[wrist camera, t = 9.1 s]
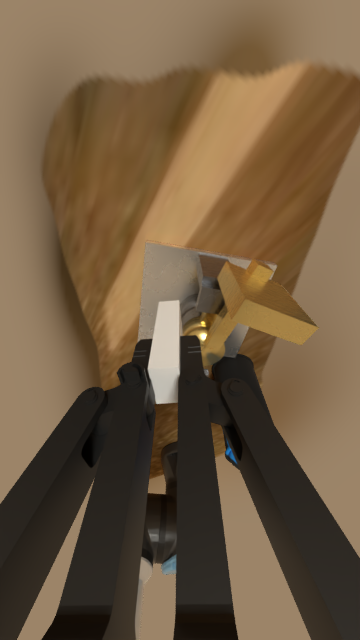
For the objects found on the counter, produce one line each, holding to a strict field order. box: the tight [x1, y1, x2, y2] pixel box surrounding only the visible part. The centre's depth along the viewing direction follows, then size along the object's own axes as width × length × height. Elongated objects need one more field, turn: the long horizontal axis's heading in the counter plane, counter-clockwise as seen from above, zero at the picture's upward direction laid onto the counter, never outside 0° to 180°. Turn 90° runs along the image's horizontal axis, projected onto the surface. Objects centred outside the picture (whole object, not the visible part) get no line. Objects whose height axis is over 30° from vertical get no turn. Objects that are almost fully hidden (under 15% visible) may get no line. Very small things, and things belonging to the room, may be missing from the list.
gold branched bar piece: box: [182, 259, 319, 366], centre depth 23 cm, size 6×18×11 cm, turn 158°
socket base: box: [138, 240, 277, 377], centre depth 30 cm, size 18×18×10 cm
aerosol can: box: [212, 354, 273, 470], centre depth 35 cm, size 8×8×20 cm
